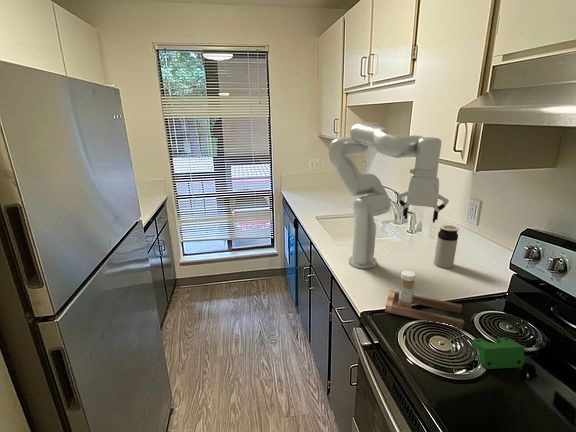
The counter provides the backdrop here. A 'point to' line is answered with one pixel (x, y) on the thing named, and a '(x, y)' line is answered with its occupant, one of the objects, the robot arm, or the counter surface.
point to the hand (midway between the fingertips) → (419, 219)
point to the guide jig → (422, 314)
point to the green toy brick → (500, 353)
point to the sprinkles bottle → (406, 288)
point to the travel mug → (446, 246)
